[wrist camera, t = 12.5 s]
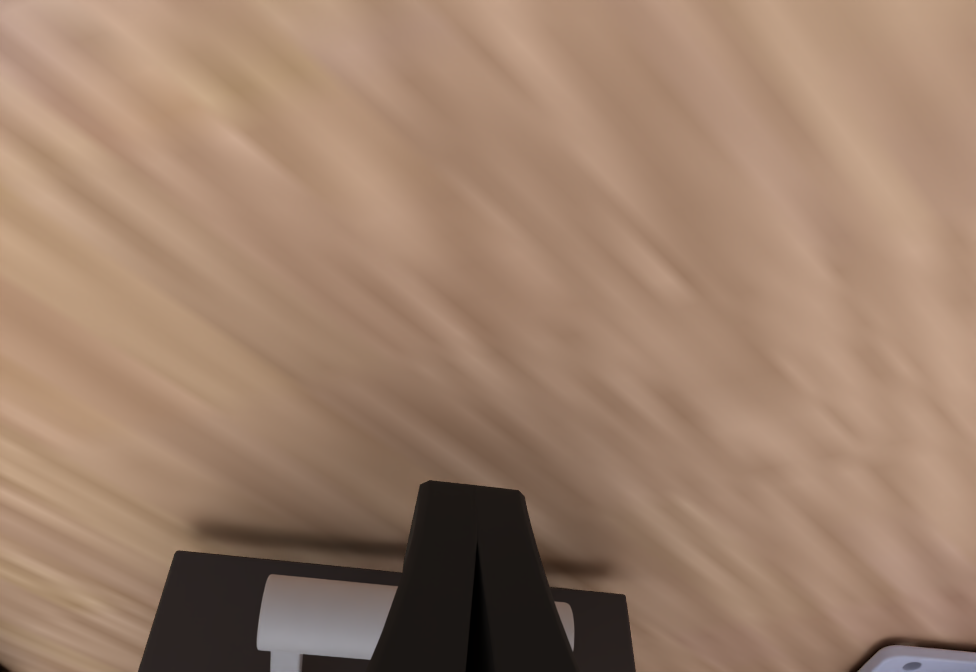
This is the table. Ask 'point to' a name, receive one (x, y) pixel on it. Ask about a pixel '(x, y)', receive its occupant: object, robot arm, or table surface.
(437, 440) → the table surface
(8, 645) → the table surface
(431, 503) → the robot arm
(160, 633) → the basket
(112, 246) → the table surface
